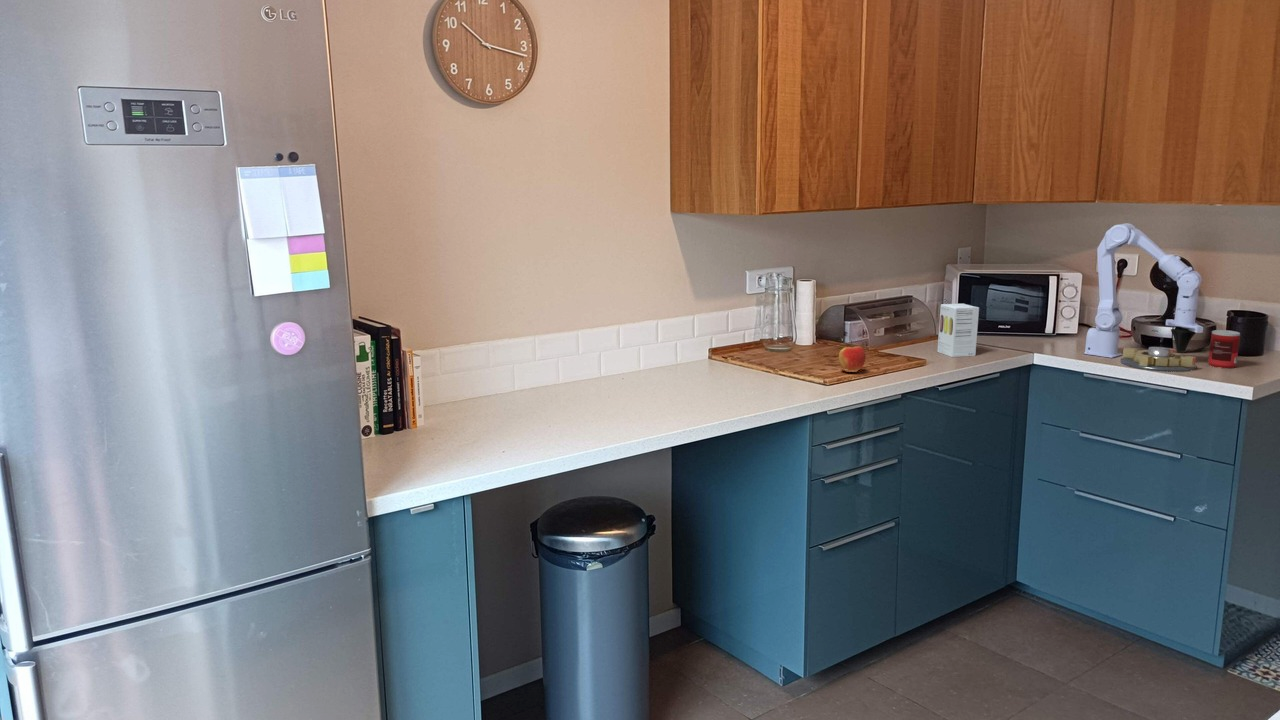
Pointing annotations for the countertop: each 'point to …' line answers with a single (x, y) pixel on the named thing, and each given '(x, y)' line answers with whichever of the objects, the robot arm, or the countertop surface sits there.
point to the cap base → (1156, 353)
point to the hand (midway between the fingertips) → (1180, 351)
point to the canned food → (1224, 348)
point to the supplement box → (958, 330)
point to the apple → (852, 358)
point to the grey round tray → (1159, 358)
